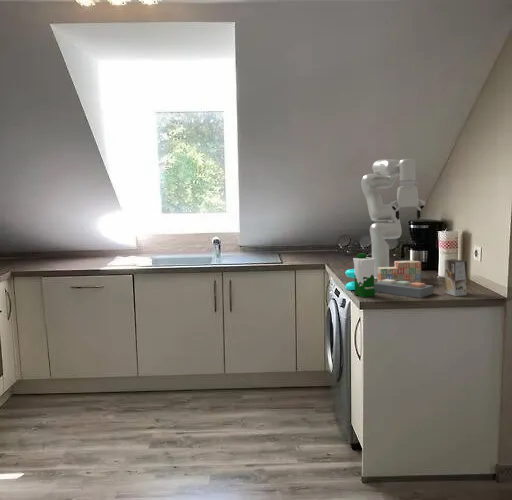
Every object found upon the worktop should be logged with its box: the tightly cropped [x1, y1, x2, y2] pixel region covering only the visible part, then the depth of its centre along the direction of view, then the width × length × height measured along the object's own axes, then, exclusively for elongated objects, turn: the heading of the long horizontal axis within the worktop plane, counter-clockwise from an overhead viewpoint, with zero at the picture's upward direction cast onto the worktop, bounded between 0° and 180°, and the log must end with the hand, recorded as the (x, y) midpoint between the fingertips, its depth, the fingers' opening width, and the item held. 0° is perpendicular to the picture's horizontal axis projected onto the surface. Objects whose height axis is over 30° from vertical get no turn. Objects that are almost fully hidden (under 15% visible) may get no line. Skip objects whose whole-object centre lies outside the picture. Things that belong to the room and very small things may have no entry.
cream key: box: [381, 279, 395, 284], centre depth 265 cm, size 5×5×3 cm
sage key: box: [395, 281, 410, 286], centre depth 259 cm, size 5×5×3 cm
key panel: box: [374, 281, 434, 299], centre depth 259 cm, size 26×12×4 cm, turn 43°
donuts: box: [345, 268, 355, 291], centre depth 271 cm, size 10×10×10 cm
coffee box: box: [444, 258, 468, 297], centre depth 251 cm, size 9×6×16 cm
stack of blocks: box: [377, 260, 422, 283], centre depth 280 cm, size 21×6×12 cm, turn 91°
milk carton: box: [352, 252, 376, 298], centre depth 254 cm, size 9×9×20 cm
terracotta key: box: [410, 282, 426, 288], centre depth 253 cm, size 5×5×3 cm
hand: (407, 219), depth 264 cm, fingers open, 9 cm apart
